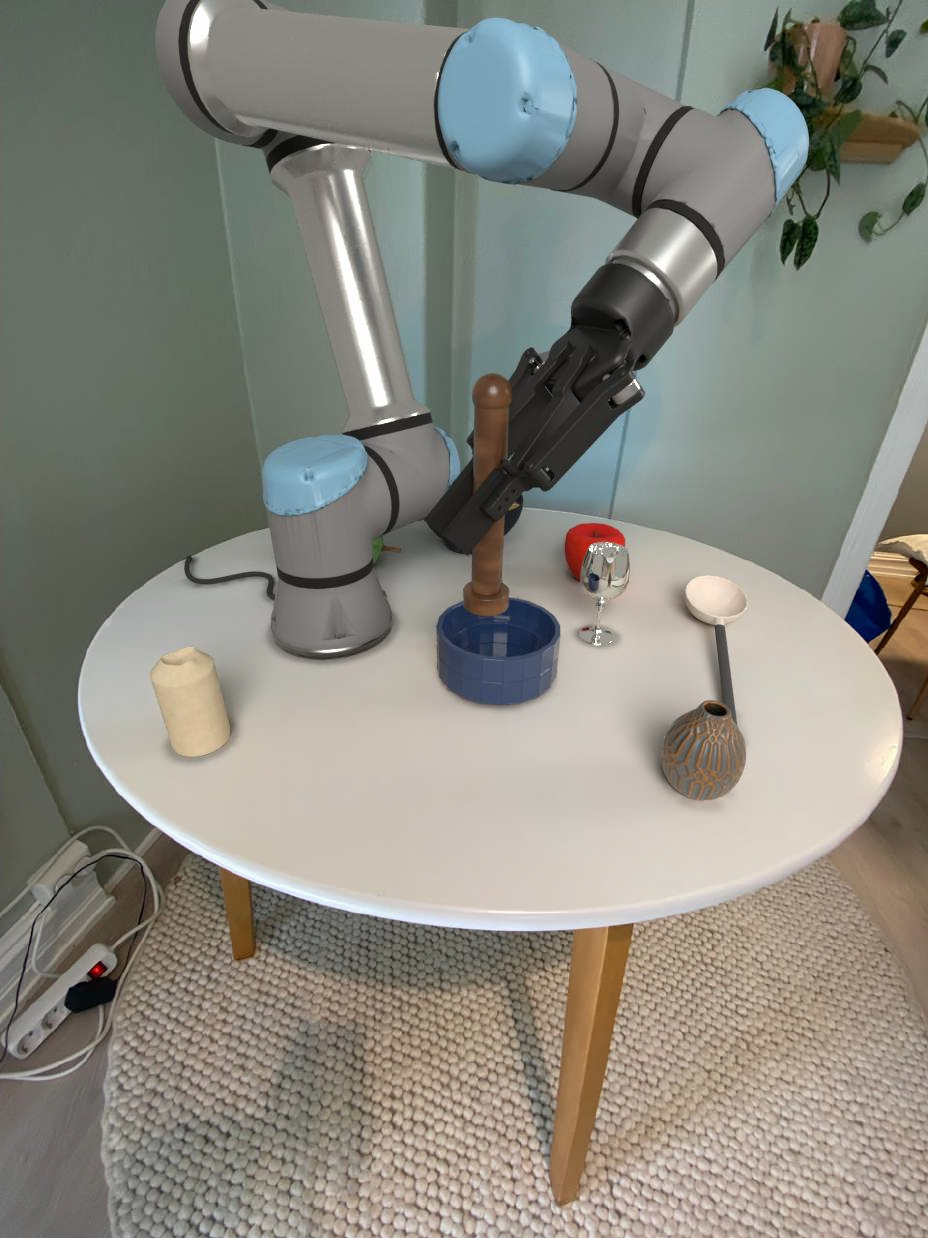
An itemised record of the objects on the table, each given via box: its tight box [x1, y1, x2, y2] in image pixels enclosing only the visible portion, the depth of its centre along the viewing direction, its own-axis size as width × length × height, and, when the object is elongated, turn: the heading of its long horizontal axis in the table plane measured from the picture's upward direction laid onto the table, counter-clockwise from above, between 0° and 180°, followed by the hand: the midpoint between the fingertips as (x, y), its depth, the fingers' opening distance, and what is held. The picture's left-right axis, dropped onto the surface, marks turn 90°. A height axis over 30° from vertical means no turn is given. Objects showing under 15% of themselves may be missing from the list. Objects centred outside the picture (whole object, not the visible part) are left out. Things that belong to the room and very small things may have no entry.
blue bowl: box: [435, 596, 562, 706], centre depth 68 cm, size 14×14×6 cm
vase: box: [660, 699, 747, 801], centre depth 53 cm, size 7×7×9 cm
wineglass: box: [578, 542, 631, 646], centre depth 74 cm, size 6×6×12 cm
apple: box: [563, 522, 626, 582], centre depth 89 cm, size 9×9×8 cm
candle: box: [149, 646, 231, 758], centre depth 57 cm, size 6×6×10 cm
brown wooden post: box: [462, 372, 513, 616], centre depth 48 cm, size 4×4×19 cm
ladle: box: [684, 574, 749, 726], centre depth 72 cm, size 8×31×4 cm, turn 165°
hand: (445, 537), depth 47 cm, fingers closed on brown wooden post, 3 cm apart
